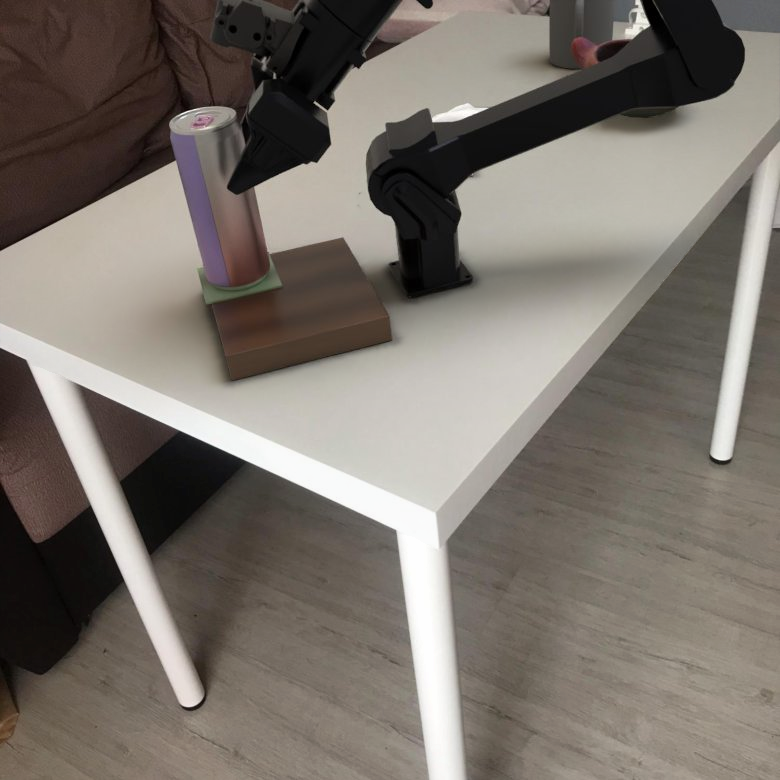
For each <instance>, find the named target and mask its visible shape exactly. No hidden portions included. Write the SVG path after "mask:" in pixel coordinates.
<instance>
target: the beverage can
mask: <svg viewBox="0 0 780 780" xmlns="http://www.w3.org/2000/svg"><path fill="white" fill-rule="evenodd" d="M168 125H169V126H168V127H169V129H170V135H169V136H170V137H169V138H170V143H171V147H172V150H173V154H174V159H175V162H176V166H177V170H178V174H179V177H180V181H181V186H182V189H183V193H184V197H185V200H186V205H187V209H188V212H189V216H190V220H191V224H192V228H193V231H194V236H195V239H196V243H197V247H198V251H199V254H200V255H199V256H200V258H201V263H202V267H204V270H205V274H206V278H207V280H208V281H209V282H210V283H211V284H212V285H213V286H215V287H216V288H218V289H221V290H226V291H238V290H243V289H247V288H250V287H253V286H255V285H257V284H259V283H260V282H262V281H263V280H264V279H265V278H266V276H267V274H268V272H269V269H270V261H269V256H268V252H269V251H268V247H267V242H266V237H265V232H264V227H263V222H262V218H261V212H260V209H259V204H258V199H257V194H256V188H255V187H253V188H251V189H249V190H247V191H245V192H243V193H241V194H239V195H235V194H234V193H232V192H230V191H229V190H228V189H227V184H228V182H229V180H230V177H231V175H232V173H233V171H234V169H235V167H236V164H237V162H238V160H239V158H240V156H241V154H242V152H243V150H244V147H245V140H244V135H243V130H242V125H241V121H240V120H239V118H238V114H237V111H236V110H235V109H233V108H231V107H227V106H221V105H220V106H219V105H217V106H216V105H215V106H203V107H198V108H194V109H190V110H186V111H184V112H182V113H179V114H177V115H176V116H174V117H173V118H172V119H171V120H170V121H169V124H168Z"/></svg>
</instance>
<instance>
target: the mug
mask: <svg viewBox="0 0 780 780" xmlns="http://www.w3.org/2000/svg"><path fill="white" fill-rule="evenodd" d="M615 1H616V0H549V28H548V29H549V32H548V33H549V34H548V36H549V42H548V44H549V60H550V63H551V64H552V65H554V66H556V67H558V68H562V69H573V70H574V69H575V70H576V69H578V70H581V69H582V68H581V67H580V65H579V64H578V63H577V62H576V60H575V59H574V57H573V55H572V51H571V45H572V42H573V40H574V39H576V38H579V37H583V38H586V39H588V40H589V41H591V42H593V43H594V44H596V45H600V44H602V43H605V42H608V41H612V40H613V39H614V37H613V36H614V22H615V21H614V20H615V19H614V18H615V3H616V2H615Z"/></svg>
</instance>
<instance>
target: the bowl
mask: <svg viewBox="0 0 780 780" xmlns="http://www.w3.org/2000/svg"><path fill="white" fill-rule="evenodd" d="M632 39H633V38H624V39H623V38H621V39H612V41H608V42H605V43H602V44H600V45H596V44H594V43H593V42H591V41H589V40H588V39H586V38H583V37H579V38H576V39H574V40H573V42H572V45H571V51H572V55H573V57H574V59H575V60H576V62H577V63H578V64H579V65H580V67H581V68H580V69H581V70H582V69H585V68H587V67H590V66H592V65H595V64H597V63H599V62H602V61H604V60H607V59H609V58H611V57H613V56H614V55H616V54H617V53H618V52H619V51H620V50H621V49H622V48H624V47H625V46H626V45H627V44H628V43H629V42H630V41H631V40H632ZM678 108H679V107H674V108H642V109H634V110H630V111H627V112H625V113H622V114H620V115H619V116H622V117H626V118H634V119H649V118H653V117H658V116H661V115H666V114H668V113H670V112H672V111H675V110H676V109H678Z"/></svg>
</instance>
